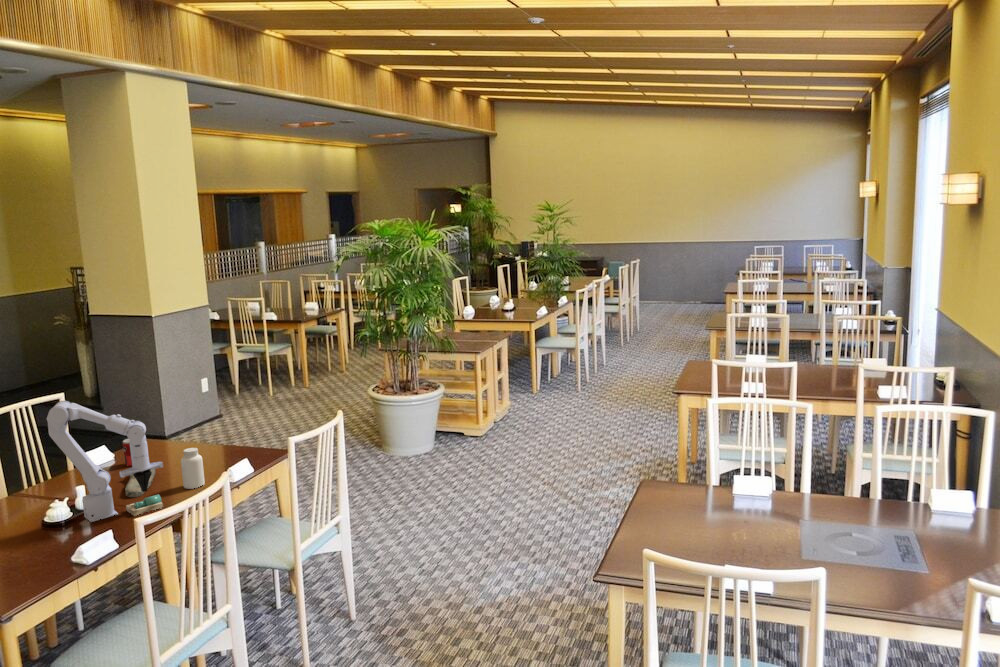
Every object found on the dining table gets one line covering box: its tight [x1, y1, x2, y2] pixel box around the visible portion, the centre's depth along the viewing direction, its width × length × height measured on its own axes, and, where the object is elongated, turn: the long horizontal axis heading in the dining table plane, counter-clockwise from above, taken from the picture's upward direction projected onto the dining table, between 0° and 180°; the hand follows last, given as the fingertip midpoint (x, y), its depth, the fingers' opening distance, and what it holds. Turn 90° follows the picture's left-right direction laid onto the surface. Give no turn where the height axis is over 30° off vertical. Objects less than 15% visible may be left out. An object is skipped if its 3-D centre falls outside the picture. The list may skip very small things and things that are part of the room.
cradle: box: [125, 501, 164, 517], centre depth 284 cm, size 10×8×2 cm
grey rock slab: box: [124, 469, 156, 498], centre depth 313 cm, size 35×5×10 cm
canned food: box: [122, 438, 132, 467], centre depth 339 cm, size 8×8×11 cm
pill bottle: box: [180, 447, 206, 490], centre depth 306 cm, size 8×8×15 cm
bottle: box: [134, 493, 163, 509], centre depth 285 cm, size 4×4×8 cm
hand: (144, 491), depth 283 cm, fingers closed
